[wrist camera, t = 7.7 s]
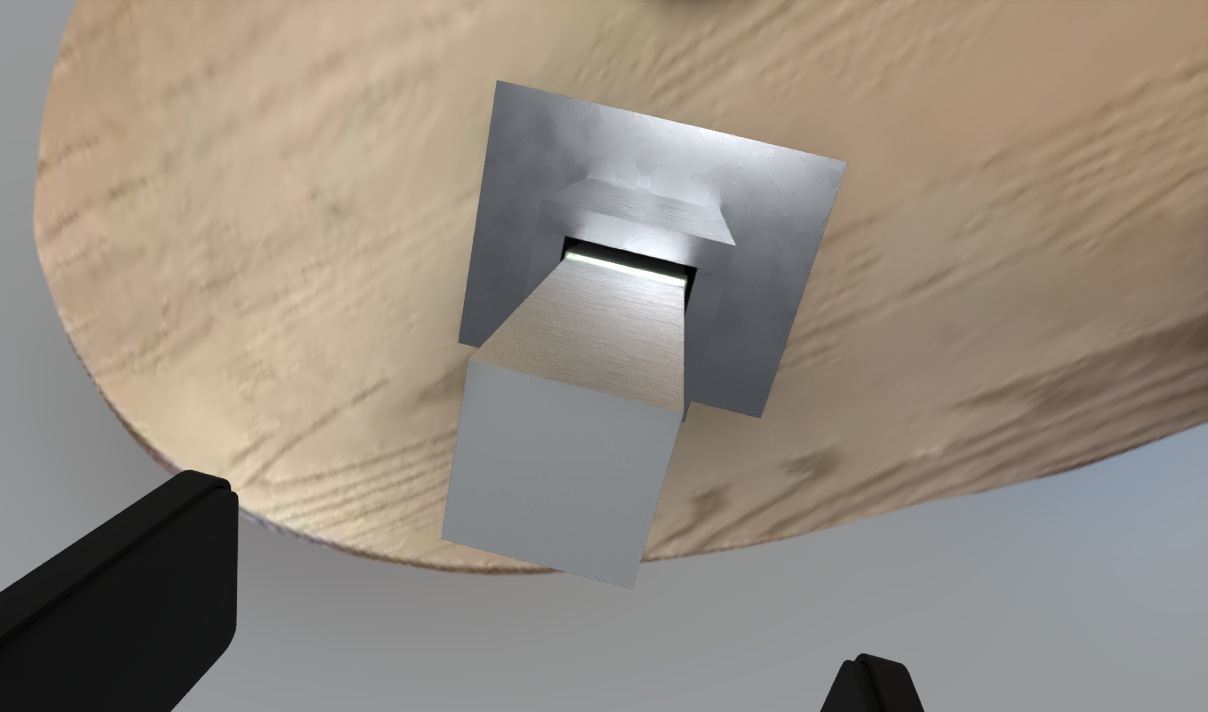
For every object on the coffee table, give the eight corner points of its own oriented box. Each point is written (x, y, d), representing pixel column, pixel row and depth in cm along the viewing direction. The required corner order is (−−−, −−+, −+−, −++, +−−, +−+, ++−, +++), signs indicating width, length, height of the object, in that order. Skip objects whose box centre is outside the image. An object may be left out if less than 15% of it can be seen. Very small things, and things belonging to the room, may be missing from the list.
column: (686, 248, 31) (689, 410, 13) (662, 338, 33) (635, 593, 15) (591, 225, 32) (464, 354, 13) (572, 316, 33) (436, 541, 15)
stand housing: (841, 160, 37) (928, 177, 24) (758, 408, 42) (791, 533, 29) (503, 81, 37) (406, 55, 24) (465, 335, 43) (369, 425, 30)
